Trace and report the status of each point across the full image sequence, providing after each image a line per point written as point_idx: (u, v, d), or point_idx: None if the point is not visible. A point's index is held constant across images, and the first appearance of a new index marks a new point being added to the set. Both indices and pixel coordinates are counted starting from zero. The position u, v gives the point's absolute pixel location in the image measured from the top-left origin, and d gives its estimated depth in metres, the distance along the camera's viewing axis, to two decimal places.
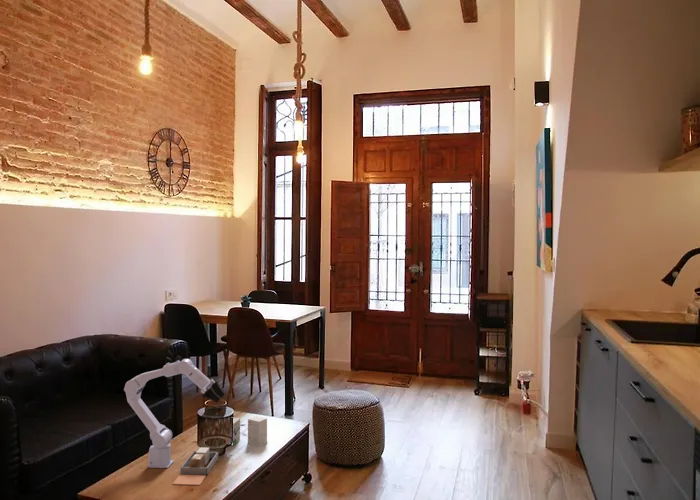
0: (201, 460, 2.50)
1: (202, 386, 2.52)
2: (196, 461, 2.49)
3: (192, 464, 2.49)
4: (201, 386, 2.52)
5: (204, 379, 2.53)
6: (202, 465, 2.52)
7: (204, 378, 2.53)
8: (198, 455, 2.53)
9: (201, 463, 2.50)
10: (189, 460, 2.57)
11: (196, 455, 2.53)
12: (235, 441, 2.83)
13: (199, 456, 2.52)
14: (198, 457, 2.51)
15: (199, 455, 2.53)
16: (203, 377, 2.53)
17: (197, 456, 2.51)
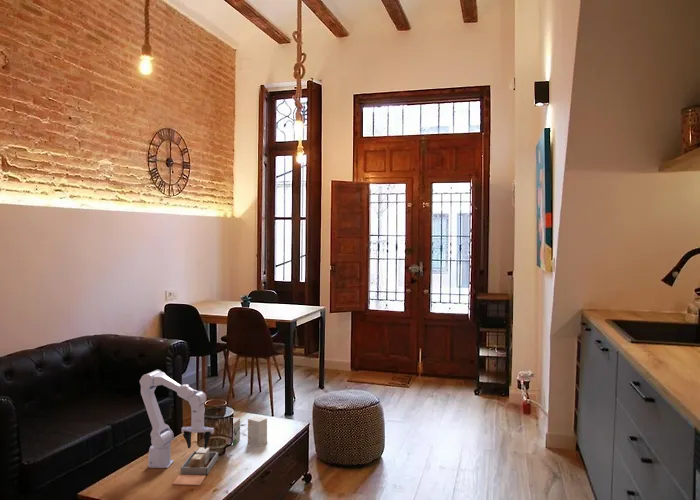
0: (201, 460, 2.50)
1: None
2: (196, 461, 2.49)
3: (192, 464, 2.49)
4: None
5: (192, 424, 2.49)
6: (202, 465, 2.52)
7: (192, 424, 2.49)
8: (198, 455, 2.53)
9: (201, 463, 2.50)
10: (189, 460, 2.57)
11: (196, 455, 2.53)
12: (235, 441, 2.83)
13: (199, 456, 2.52)
14: (198, 457, 2.51)
15: (199, 455, 2.53)
16: (193, 422, 2.49)
17: (198, 456, 2.51)
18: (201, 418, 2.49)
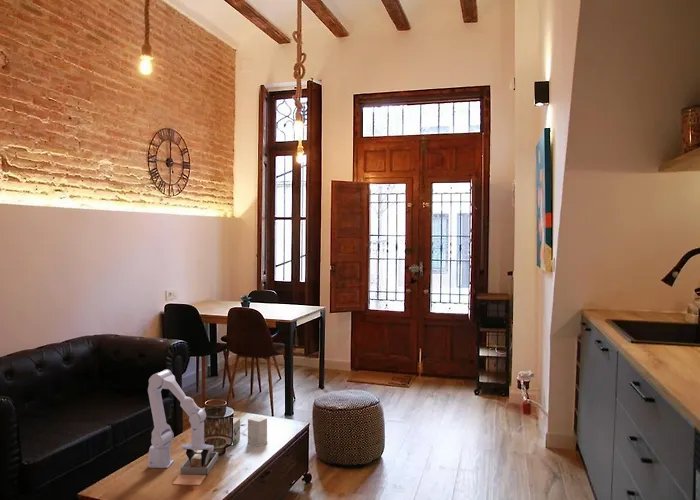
0: (201, 460, 2.50)
1: None
2: (196, 461, 2.49)
3: (192, 464, 2.49)
4: None
5: (192, 442, 2.49)
6: None
7: (192, 441, 2.49)
8: (198, 455, 2.53)
9: (201, 463, 2.50)
10: None
11: (196, 455, 2.53)
12: (235, 441, 2.83)
13: (199, 456, 2.52)
14: (198, 457, 2.51)
15: (199, 455, 2.53)
16: (192, 440, 2.49)
17: (198, 456, 2.51)
18: (201, 436, 2.50)
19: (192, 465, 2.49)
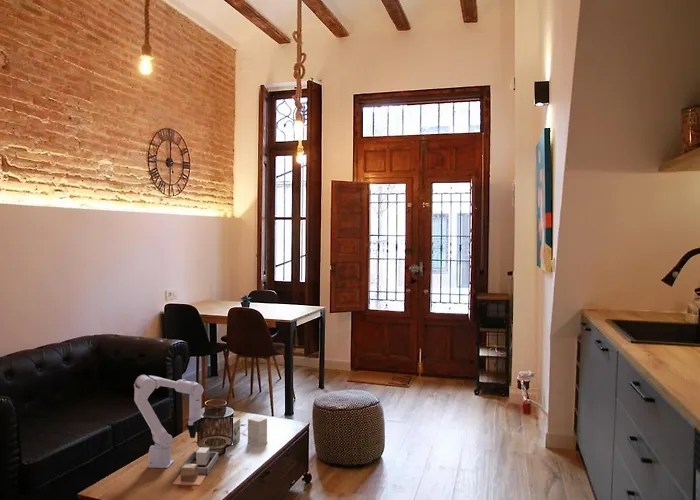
0: None
1: (192, 416, 2.64)
2: (196, 467, 2.41)
3: (194, 472, 2.39)
4: (191, 415, 2.64)
5: (198, 412, 2.65)
6: None
7: (199, 411, 2.65)
8: (186, 465, 2.41)
9: None
10: (189, 460, 2.57)
11: (186, 466, 2.40)
12: (235, 441, 2.83)
13: (189, 464, 2.42)
14: (192, 464, 2.42)
15: (187, 464, 2.41)
16: (199, 410, 2.65)
17: (190, 465, 2.41)
18: None
19: (194, 474, 2.39)
